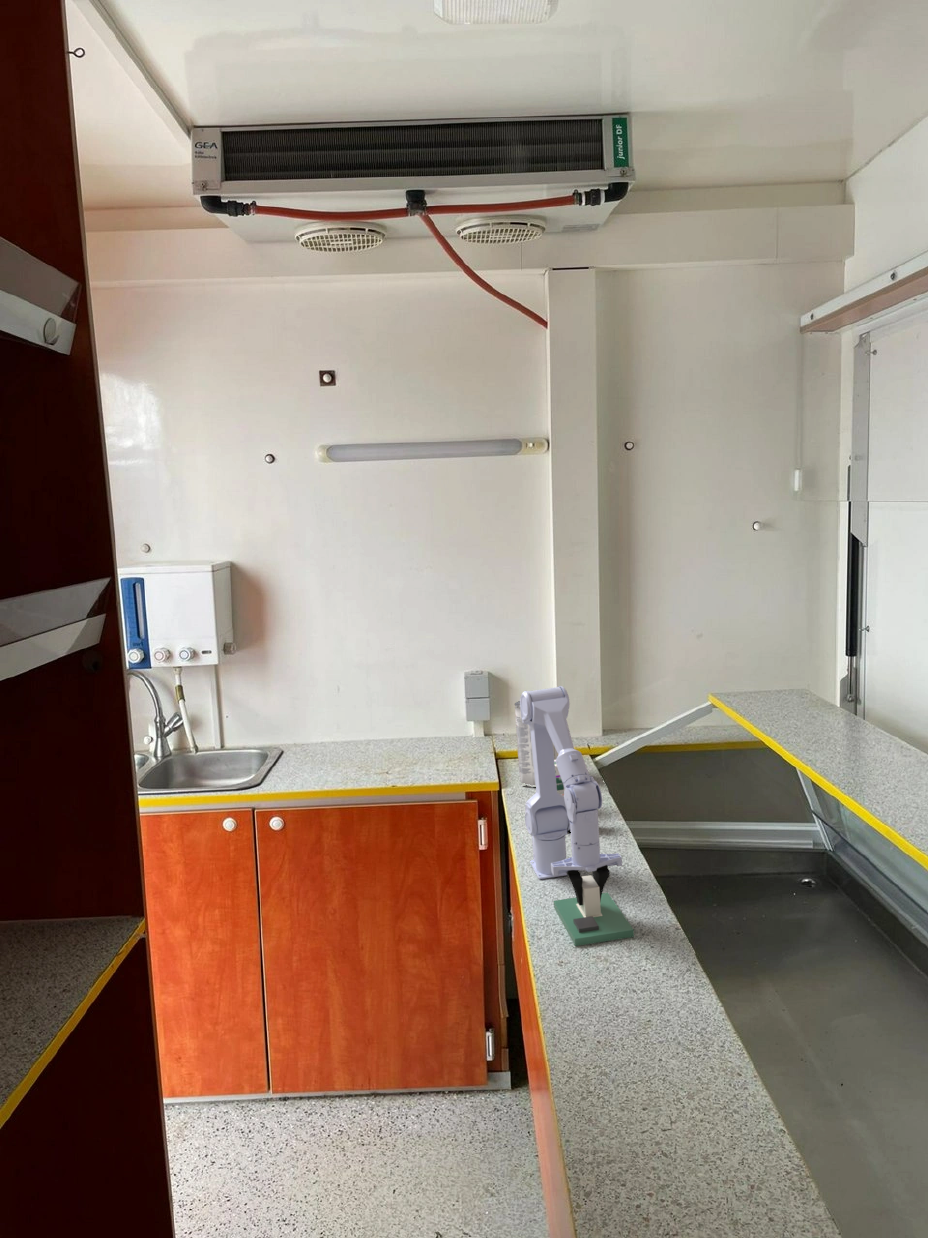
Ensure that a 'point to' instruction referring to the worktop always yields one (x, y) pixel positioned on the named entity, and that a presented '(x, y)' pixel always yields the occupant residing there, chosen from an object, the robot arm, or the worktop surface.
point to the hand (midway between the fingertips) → (588, 902)
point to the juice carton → (525, 749)
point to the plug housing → (590, 897)
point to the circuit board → (593, 921)
